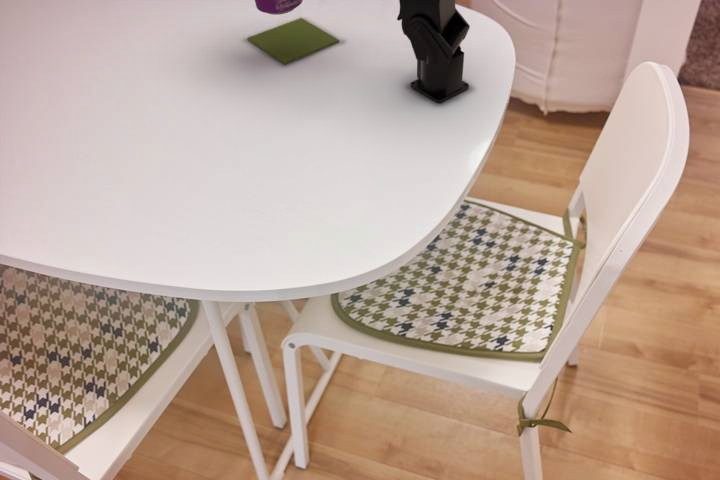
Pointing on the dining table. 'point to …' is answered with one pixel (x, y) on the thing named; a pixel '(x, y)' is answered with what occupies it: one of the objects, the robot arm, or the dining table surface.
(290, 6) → the beverage can
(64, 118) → the dining table surface
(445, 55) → the robot arm
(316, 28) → the mat
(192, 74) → the dining table surface
